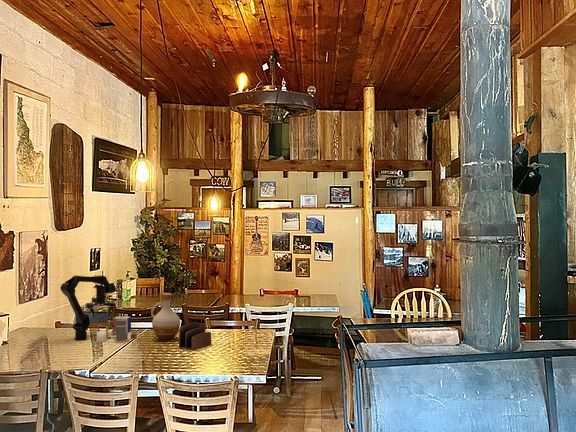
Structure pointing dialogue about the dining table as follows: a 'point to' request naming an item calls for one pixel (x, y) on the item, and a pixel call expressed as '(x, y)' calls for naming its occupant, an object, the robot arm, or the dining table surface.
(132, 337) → the block
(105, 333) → the beige square piece
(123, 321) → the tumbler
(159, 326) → the jug
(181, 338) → the letter holder
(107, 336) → the balance
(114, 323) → the puzzle cube
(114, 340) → the tile
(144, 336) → the dining table surface
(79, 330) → the robot arm
